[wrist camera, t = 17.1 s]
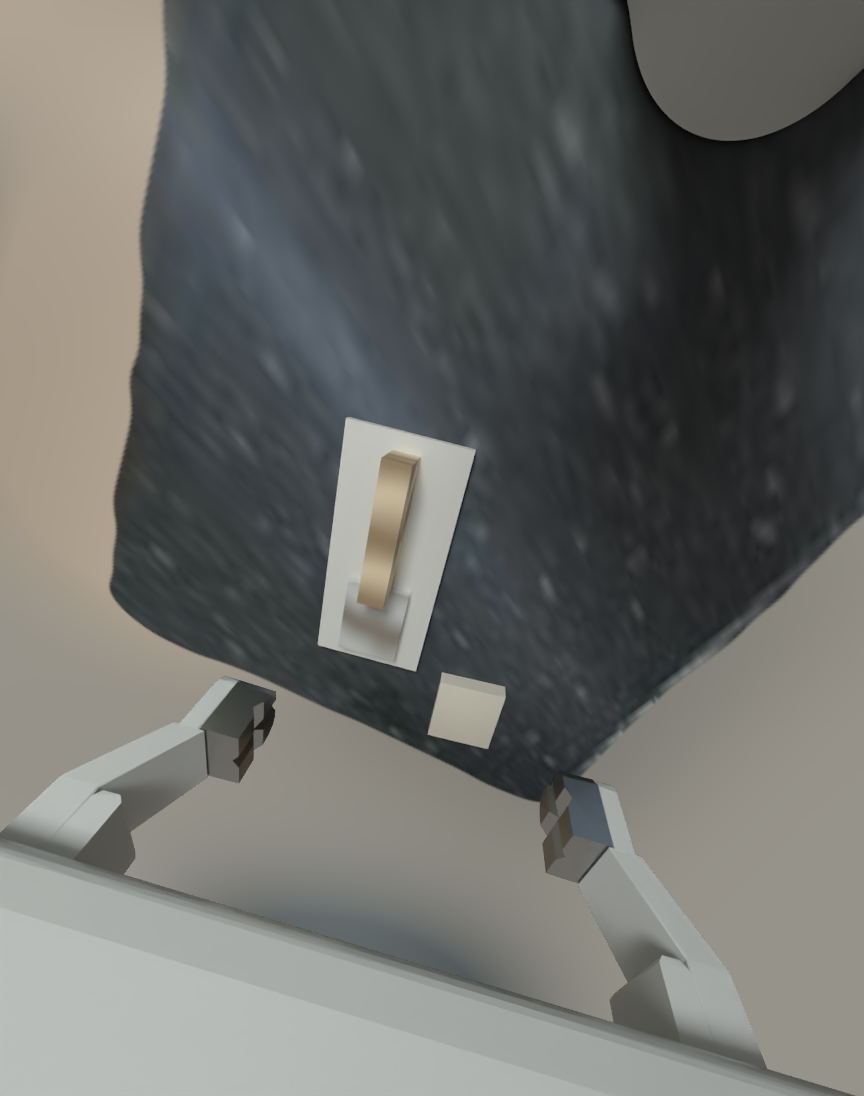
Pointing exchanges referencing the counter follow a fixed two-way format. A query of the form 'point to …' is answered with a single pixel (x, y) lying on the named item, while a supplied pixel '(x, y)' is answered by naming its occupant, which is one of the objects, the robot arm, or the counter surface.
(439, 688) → the tile
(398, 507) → the wooden handled scraper
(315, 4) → the counter surface
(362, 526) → the board
